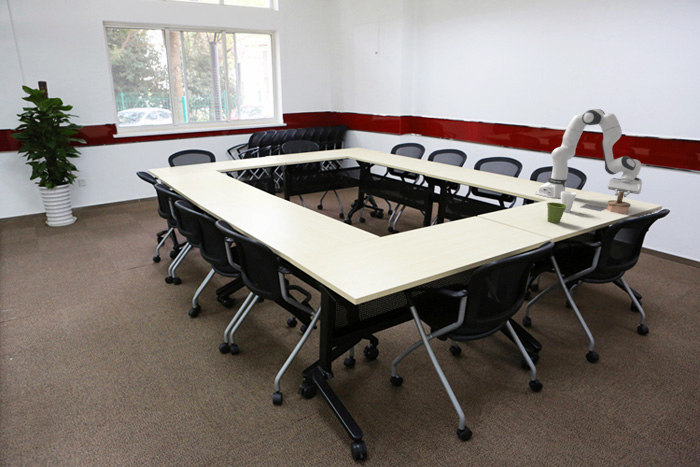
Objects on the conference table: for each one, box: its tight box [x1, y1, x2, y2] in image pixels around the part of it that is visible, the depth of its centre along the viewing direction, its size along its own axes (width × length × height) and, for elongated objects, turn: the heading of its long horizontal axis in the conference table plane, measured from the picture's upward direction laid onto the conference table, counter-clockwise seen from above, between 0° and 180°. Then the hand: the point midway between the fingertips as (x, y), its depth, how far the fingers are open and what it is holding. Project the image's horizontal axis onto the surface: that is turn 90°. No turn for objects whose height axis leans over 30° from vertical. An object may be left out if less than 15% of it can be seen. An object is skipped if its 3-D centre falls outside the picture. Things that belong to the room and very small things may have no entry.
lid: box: [606, 191, 631, 208], centre depth 309 cm, size 14×14×9 cm
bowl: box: [606, 203, 630, 214], centre depth 311 cm, size 12×12×5 cm
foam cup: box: [559, 190, 577, 213], centre depth 306 cm, size 10×9×13 cm
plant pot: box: [546, 201, 567, 224], centre depth 281 cm, size 12×12×11 cm
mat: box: [580, 203, 607, 212], centre depth 318 cm, size 14×14×1 cm
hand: (620, 195), depth 308 cm, fingers open, 4 cm apart
